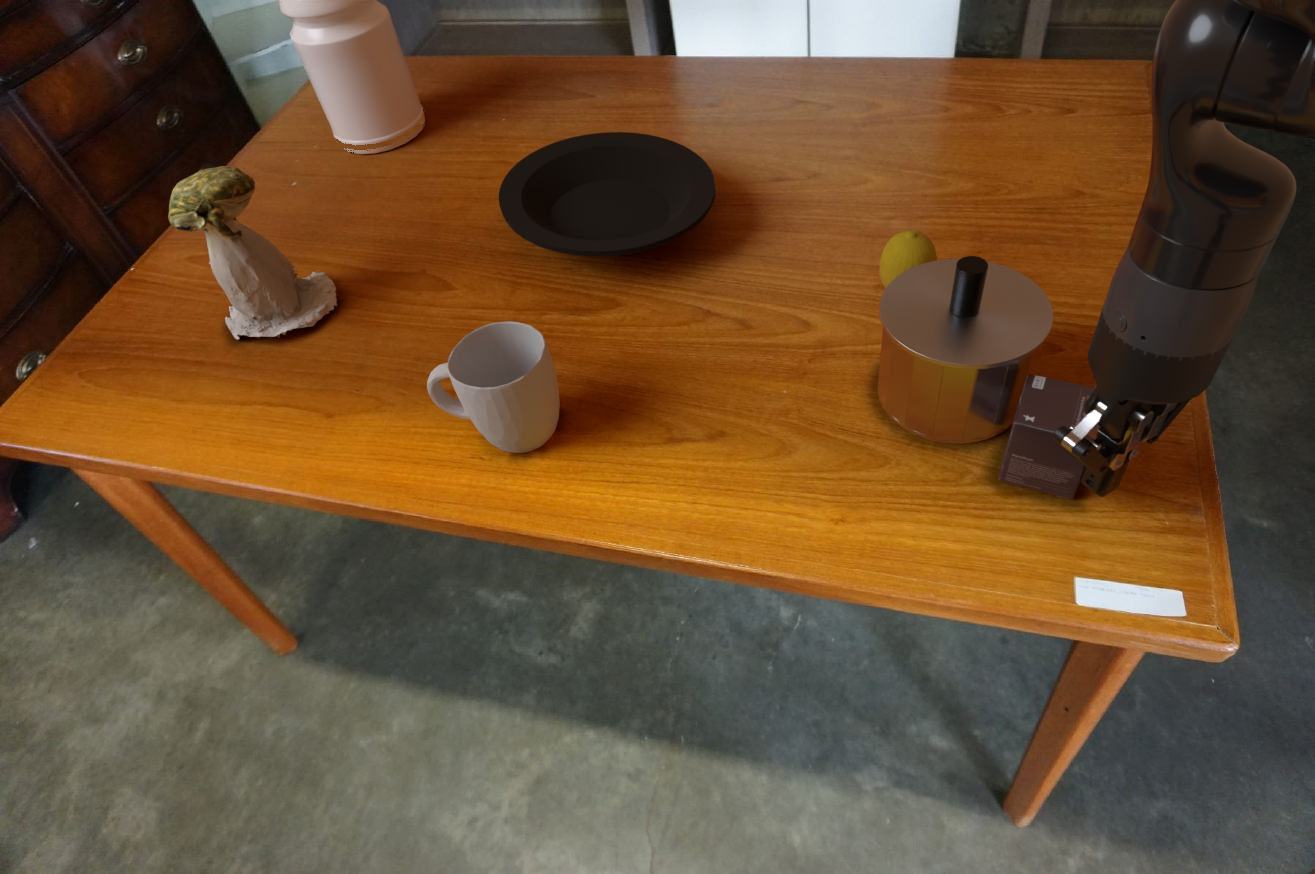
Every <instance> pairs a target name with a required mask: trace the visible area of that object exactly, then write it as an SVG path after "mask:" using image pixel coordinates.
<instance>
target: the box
mask: <svg viewBox="0 0 1315 874" xmlns="http://www.w3.org/2000/svg"><path fill="white" fill-rule="evenodd" d="M1094 388H1095V387H1092V386H1088V385H1083V384H1080V383H1079V384H1078V383H1074V382H1069V381H1064V380H1060V379H1057V378H1056V379H1055V378H1051V377H1047V376H1041V375H1037V374H1033V375H1030V374H1029V375H1027V379H1026V381H1025V385H1024V388H1023V391H1022V395H1021V397H1020V401H1019V404H1018V407H1017V411H1016V414H1015V417H1014V421H1013V424H1012V425H1011V428H1010V431H1009V435H1008V439H1007V443H1006V446H1005V450H1004V454H1003V457H1002V462H1001V465H1000V468H999V473H998V477H997V480H998V481H999V482H1003V483H1007V484H1010V485H1013V486H1018V487H1022V488H1026V489H1028V490H1029V489H1030V490H1034V491H1038V492H1041V493H1045V494H1048V495H1052V496H1056V497H1059V498H1064V499H1067V500H1074V499H1075V497H1076V494H1077V491H1078V489H1079V486H1080V483H1081V478H1082V475H1083V473H1084V470H1085V467H1086V466H1084V465H1083V464H1082V463H1080V462H1079V461H1078V460H1076V459H1075V458H1074V457H1072V456H1071V455H1070V454H1069V453H1068V452H1067V451H1066V450H1064V449H1063V448H1062V447H1061V446H1060V445H1059V444H1058V443H1057V442H1056V441H1055V440H1053V438H1052V437H1053V434H1054V433H1055V431H1056V430H1057V429H1058V428H1060V427H1061V426H1066V427H1067V428H1070V427H1071V426H1072V425H1075V426H1077V425H1078V424H1079V423H1080V422H1081V421H1082V420H1083V419H1084V417H1085V416H1086V414H1085V411H1084V407H1085V403H1086V401H1087V400H1088V398H1089V397H1090V395H1091V394H1092V392H1093V390H1094Z"/></svg>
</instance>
